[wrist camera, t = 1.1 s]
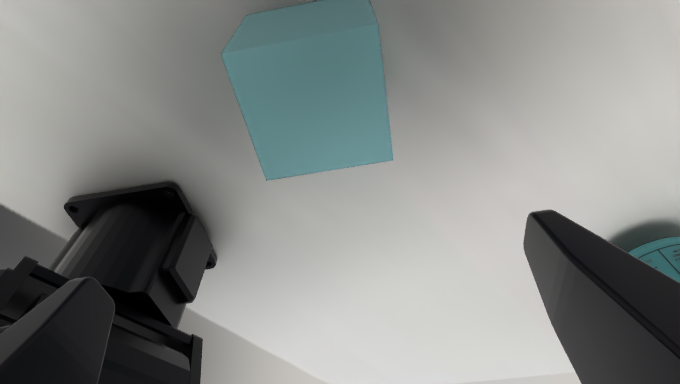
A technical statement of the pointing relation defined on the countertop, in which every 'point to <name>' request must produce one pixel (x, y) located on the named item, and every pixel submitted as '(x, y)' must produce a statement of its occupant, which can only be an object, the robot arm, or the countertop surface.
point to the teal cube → (311, 87)
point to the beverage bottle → (661, 255)
